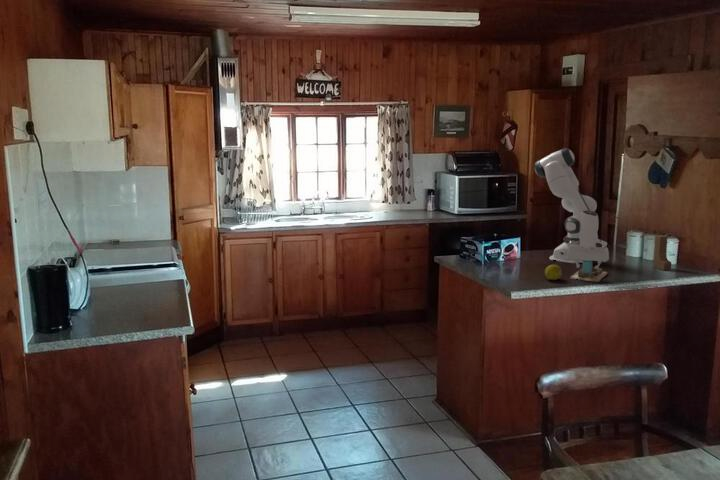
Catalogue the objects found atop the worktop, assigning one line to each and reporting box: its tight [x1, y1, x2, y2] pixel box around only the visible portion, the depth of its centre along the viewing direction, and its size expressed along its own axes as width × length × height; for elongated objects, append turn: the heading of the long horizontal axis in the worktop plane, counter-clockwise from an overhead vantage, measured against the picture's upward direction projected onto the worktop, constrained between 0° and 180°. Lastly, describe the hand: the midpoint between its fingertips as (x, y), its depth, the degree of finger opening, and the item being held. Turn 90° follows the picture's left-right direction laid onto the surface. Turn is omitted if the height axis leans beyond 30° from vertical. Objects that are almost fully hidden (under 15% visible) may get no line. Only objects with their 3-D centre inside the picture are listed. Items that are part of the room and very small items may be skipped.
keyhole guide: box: [569, 267, 608, 283], centre depth 331 cm, size 14×20×3 cm
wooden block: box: [653, 234, 672, 271], centre depth 343 cm, size 9×4×18 cm, turn 12°
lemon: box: [544, 264, 563, 281], centre depth 325 cm, size 11×8×8 cm
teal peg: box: [581, 260, 593, 274], centre depth 327 cm, size 4×4×8 cm
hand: (587, 268), depth 327 cm, fingers open, 8 cm apart
